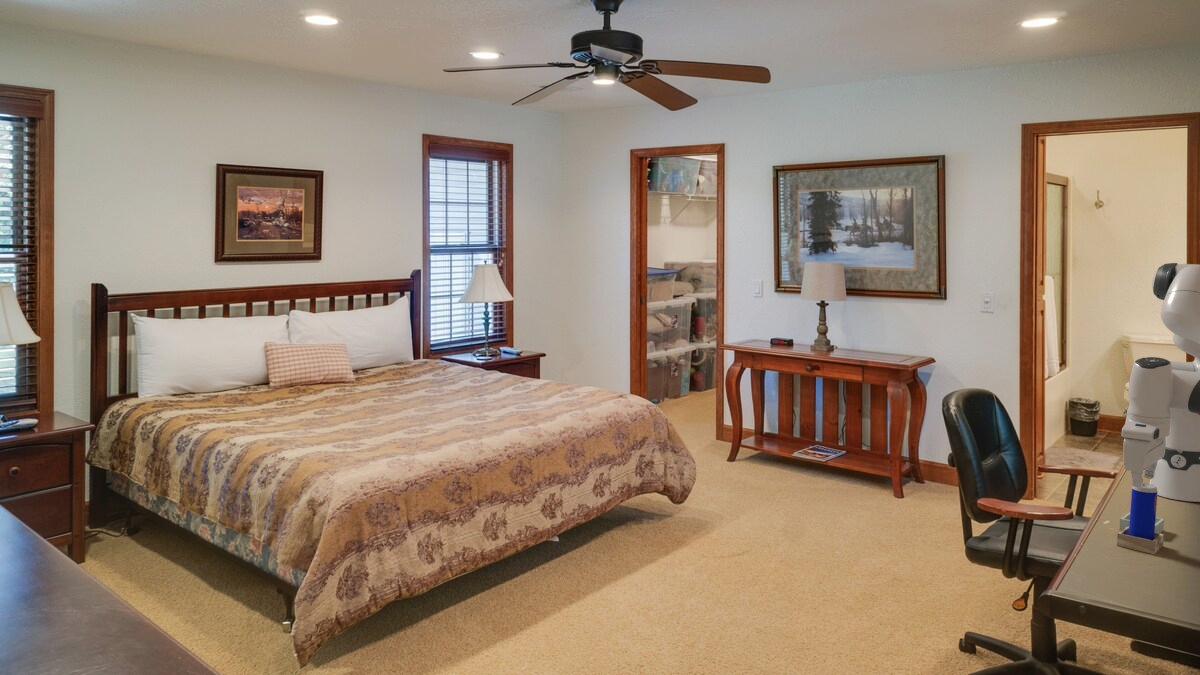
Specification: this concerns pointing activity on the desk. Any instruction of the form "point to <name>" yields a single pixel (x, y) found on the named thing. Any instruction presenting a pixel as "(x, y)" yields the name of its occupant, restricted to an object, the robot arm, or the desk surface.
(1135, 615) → the desk surface
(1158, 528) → the bin sage
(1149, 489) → the beverage can
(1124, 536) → the bin oak
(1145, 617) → the desk surface
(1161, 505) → the desk surface
